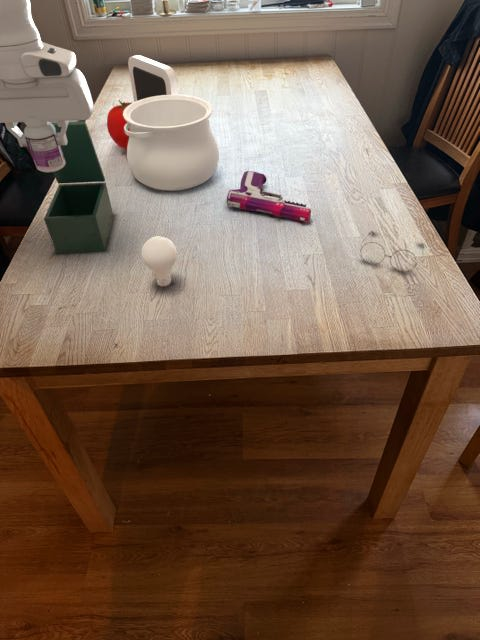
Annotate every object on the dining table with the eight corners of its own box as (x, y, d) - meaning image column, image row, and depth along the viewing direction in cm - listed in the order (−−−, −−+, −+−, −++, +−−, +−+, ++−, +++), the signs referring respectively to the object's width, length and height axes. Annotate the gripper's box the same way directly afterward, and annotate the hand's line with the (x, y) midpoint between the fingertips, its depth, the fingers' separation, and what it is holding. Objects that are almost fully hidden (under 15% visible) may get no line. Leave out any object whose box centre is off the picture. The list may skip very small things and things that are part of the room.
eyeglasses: (369, 233, 103) (373, 213, 99) (425, 246, 99) (432, 227, 95) (355, 260, 96) (359, 240, 92) (415, 276, 92) (422, 256, 88)
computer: (168, 71, 118) (176, 69, 119) (125, 54, 130) (133, 52, 131) (176, 152, 133) (184, 150, 135) (138, 131, 145) (145, 128, 147)
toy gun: (322, 196, 114) (306, 228, 105) (244, 181, 120) (222, 210, 110) (324, 183, 112) (307, 214, 102) (244, 168, 117) (221, 196, 108)
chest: (105, 251, 99) (95, 216, 93) (56, 253, 99) (43, 218, 92) (113, 215, 109) (105, 182, 103) (69, 217, 109) (58, 184, 103)
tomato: (154, 154, 133) (147, 107, 124) (112, 158, 131) (102, 111, 122) (152, 138, 141) (145, 93, 132) (112, 142, 139) (102, 97, 130)
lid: (85, 124, 89) (87, 108, 91) (31, 126, 89) (34, 110, 91) (105, 181, 103) (106, 166, 105) (58, 183, 102) (60, 168, 105)
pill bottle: (40, 160, 86) (22, 108, 80) (68, 159, 87) (53, 107, 80) (33, 174, 83) (14, 120, 76) (62, 172, 83) (46, 119, 76)
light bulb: (180, 273, 93) (174, 228, 86) (181, 294, 89) (175, 248, 81) (148, 276, 93) (139, 230, 85) (147, 297, 88) (138, 251, 80)
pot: (169, 206, 112) (160, 139, 100) (111, 175, 124) (96, 112, 112) (239, 170, 125) (238, 107, 113) (180, 145, 137) (174, 86, 125)
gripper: (-57, 68, 69) (-20, 154, 79) (76, 63, 70) (97, 150, 80) (-42, 56, 74) (-8, 139, 84) (84, 52, 75) (103, 135, 84)
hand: (44, 144), depth 82 cm, fingers closed on pill bottle, 5 cm apart
